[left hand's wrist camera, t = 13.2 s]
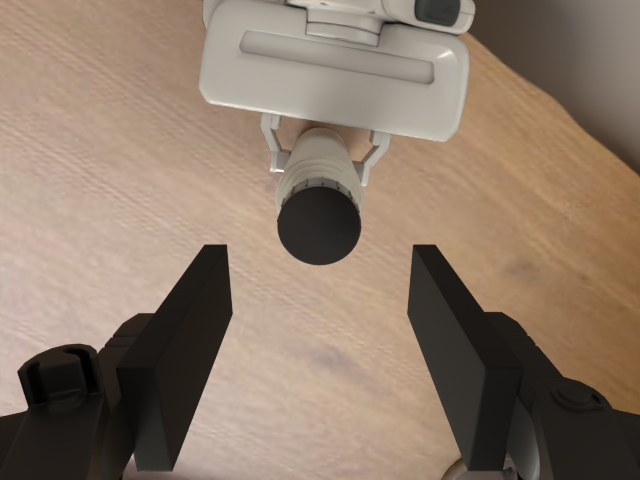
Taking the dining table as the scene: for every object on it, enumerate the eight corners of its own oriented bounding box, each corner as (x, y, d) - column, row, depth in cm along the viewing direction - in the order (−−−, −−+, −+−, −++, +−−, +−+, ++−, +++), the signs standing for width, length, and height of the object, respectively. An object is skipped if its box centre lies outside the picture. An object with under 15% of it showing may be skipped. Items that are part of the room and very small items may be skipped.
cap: (368, 188, 21) (373, 198, 19) (345, 259, 23) (347, 274, 21) (291, 167, 21) (288, 175, 19) (272, 240, 22) (268, 254, 20)
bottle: (353, 135, 40) (387, 188, 20) (337, 187, 42) (354, 284, 21) (301, 120, 39) (279, 157, 19) (287, 173, 41) (255, 258, 21)
